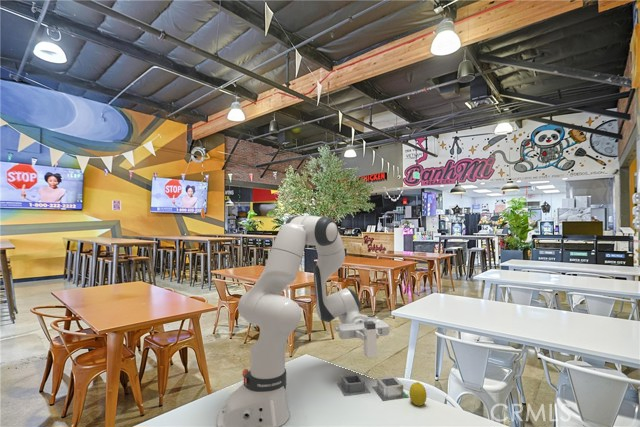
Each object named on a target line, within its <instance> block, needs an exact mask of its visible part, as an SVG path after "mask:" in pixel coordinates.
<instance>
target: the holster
mask: <svg viewBox="0 0 640 427" xmlns="http://www.w3.org/2000/svg"><path fill="white" fill-rule="evenodd" d="M336 385H337V387H338V388H339V390H340V391H341V393H342V396H343V397H350V396H356V395H357V396H358V395H359V396H360V395H365V394H366V395H367V394H371V391H370V390H369V389H368V387H367V385H366V384H365V381H364V379H363V378H362V376H361V375H360V374H348V375H346V374H345V375H343V376H341V381H339V382H336Z"/></svg>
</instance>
